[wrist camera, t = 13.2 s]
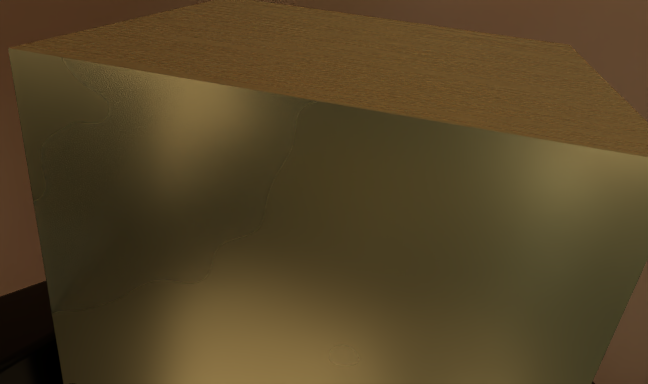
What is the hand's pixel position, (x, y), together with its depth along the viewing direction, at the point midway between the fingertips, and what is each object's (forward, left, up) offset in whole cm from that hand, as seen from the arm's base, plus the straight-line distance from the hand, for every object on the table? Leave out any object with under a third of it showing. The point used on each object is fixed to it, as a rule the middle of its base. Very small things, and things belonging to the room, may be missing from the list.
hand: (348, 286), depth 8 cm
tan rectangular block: (+1, 0, 0) cm, 1 cm away
